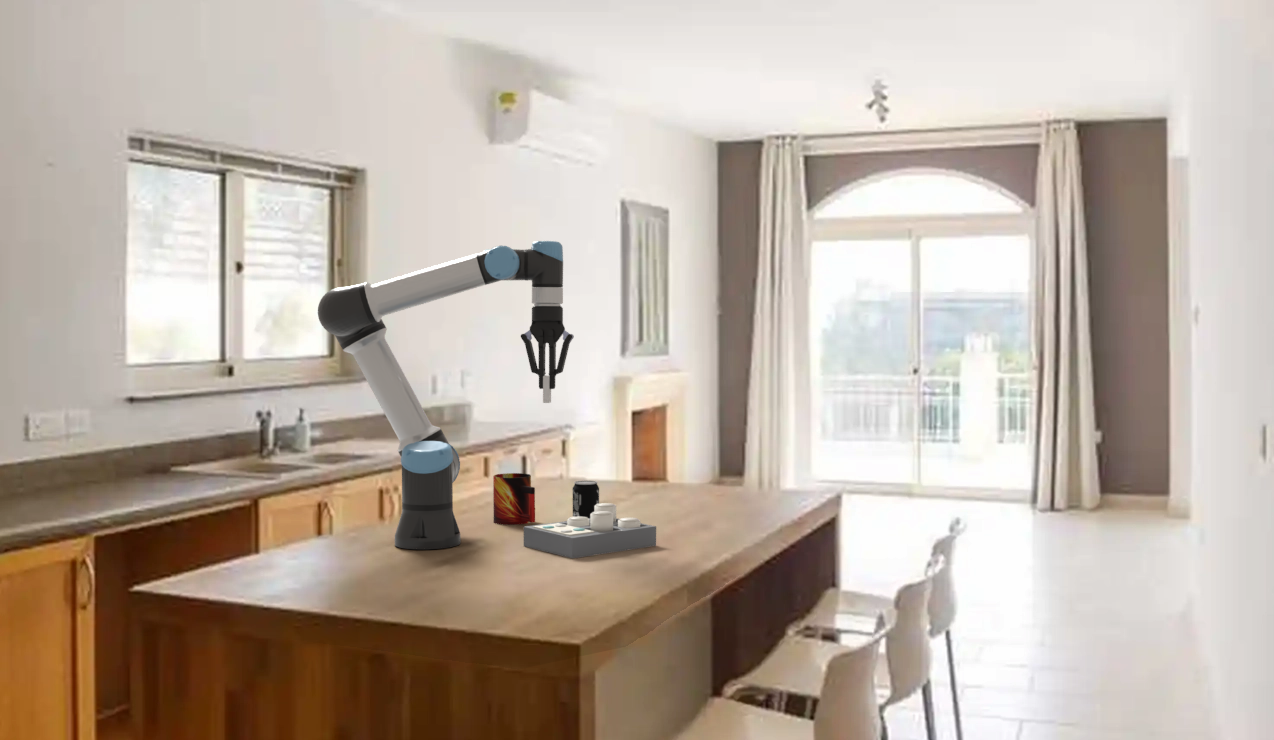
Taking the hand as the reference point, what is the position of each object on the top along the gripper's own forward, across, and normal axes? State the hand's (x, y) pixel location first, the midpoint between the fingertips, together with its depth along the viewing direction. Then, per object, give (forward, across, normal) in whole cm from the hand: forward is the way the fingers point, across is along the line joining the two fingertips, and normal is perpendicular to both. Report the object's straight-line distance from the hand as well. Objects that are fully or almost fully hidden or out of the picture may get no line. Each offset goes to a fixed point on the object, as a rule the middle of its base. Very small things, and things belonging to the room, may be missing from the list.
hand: (547, 402), depth 309 cm
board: (+32, -13, +15) cm, 38 cm away
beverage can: (+32, -9, -6) cm, 34 cm away
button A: (+31, -10, +12) cm, 35 cm away
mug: (+32, +10, -15) cm, 37 cm away
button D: (+31, -22, +13) cm, 40 cm away
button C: (+29, -16, +18) cm, 38 cm away
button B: (+29, -15, +6) cm, 33 cm away
